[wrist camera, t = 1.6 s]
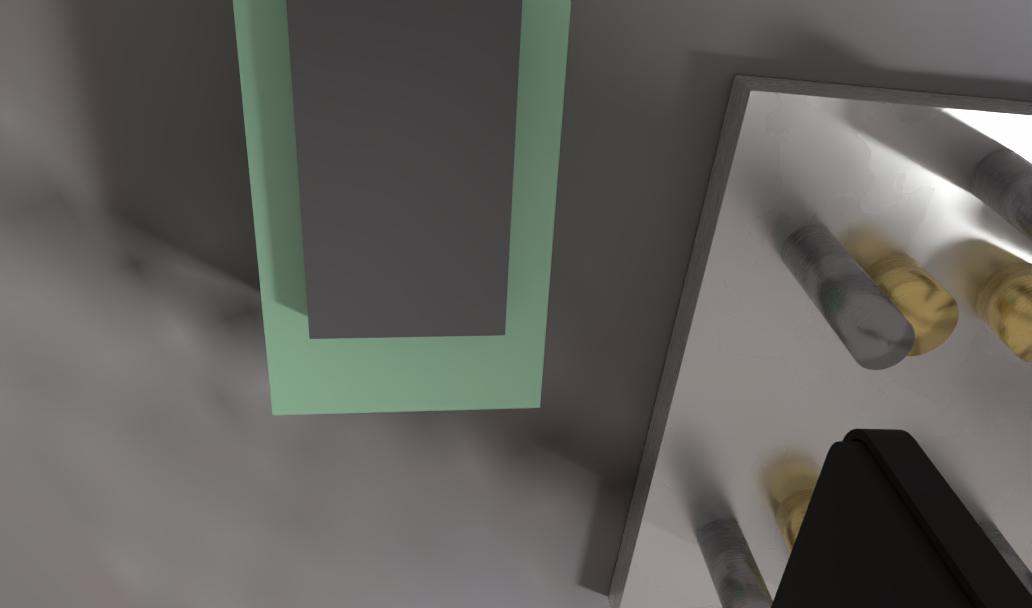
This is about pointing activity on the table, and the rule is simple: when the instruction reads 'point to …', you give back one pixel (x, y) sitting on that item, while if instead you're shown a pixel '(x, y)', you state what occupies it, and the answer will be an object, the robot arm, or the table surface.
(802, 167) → the chassis
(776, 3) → the table surface
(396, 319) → the module
